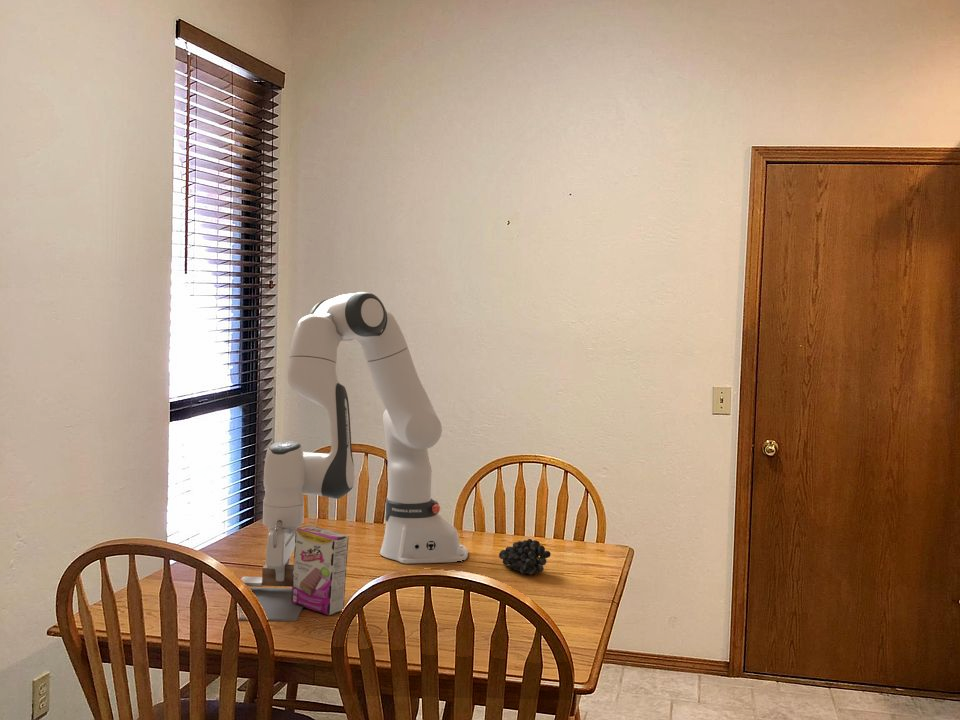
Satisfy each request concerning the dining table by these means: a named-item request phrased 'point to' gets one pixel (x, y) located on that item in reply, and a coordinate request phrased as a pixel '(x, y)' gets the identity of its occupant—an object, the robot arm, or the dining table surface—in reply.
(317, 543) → the candy bar box
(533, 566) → the fruit
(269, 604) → the mat
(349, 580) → the dining table surface
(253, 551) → the dining table surface
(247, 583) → the block
